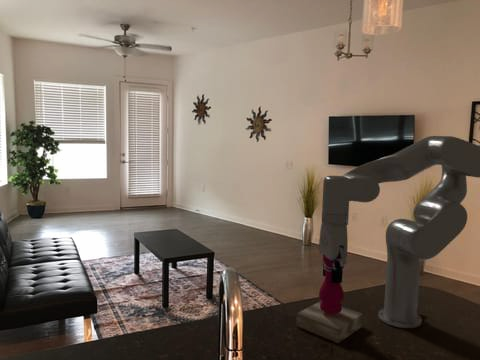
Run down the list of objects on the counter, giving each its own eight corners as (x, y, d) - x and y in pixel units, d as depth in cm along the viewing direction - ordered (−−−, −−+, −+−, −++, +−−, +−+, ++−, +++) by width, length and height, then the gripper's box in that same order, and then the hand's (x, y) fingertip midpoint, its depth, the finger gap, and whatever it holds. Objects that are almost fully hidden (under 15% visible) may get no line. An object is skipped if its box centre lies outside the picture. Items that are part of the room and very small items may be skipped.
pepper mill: (343, 315, 118) (347, 247, 116) (318, 313, 120) (321, 245, 118) (342, 305, 125) (345, 241, 123) (318, 303, 127) (321, 239, 125)
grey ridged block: (321, 312, 133) (322, 300, 133) (362, 326, 124) (362, 313, 123) (296, 326, 123) (296, 313, 122) (338, 343, 113) (338, 329, 113)
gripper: (311, 213, 127) (309, 270, 129) (335, 225, 110) (332, 290, 113) (334, 212, 129) (331, 269, 131) (361, 224, 112) (357, 289, 114)
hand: (332, 278), depth 122 cm, fingers closed on pepper mill, 5 cm apart
